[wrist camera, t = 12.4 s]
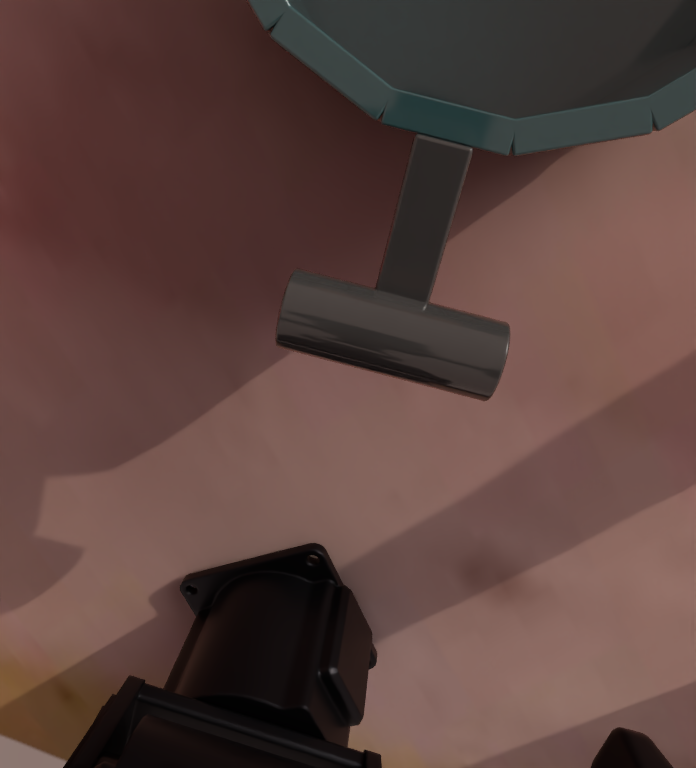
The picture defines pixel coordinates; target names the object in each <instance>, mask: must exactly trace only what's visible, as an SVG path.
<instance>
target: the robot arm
mask: <svg viewBox="0 0 696 768" xmlns="http://www.w3.org/2000/svg"><path fill="white" fill-rule="evenodd" d="M309 555H315V556H317V557H318V558H315V559H314V558H312V557H310V556H309ZM191 585H193V586H195V587H196V588H194V587H192V586H191ZM180 590H181V593H182V595H183V596H184V598H185V599H186V601H187V603H188V604H189V606H190V607H191V609H192V611H193V612H194V614H195V615H196V618H195V621H194V623H193V625H192V627H191V629H190V632H189V634H188V636H187V638H186V640H185V642H184V645H183V647H182V649H181V651H180V653H179V656H178V658H177V660H176V662H175V664H174V666H173V669H172V671H171V673H170V675H169V677H168V680H167V682H166V684H165V686H164V688H163V689H162V688H159V687H156V686H152V685H149V684H146V683H145V680H144V679H140V678H137V677H134V676H131V675H129V677H128V678H127V680H126V681H125V683H124V684H123V686H122V687H121V689H120V690H119V692H118V693H117V695H115V694H112V696H111V697H110V698H109V700H108V701H107V703H106V704H105V705H104V706H102V708H101V710H100V711H99V713H98V715H97V717H96V719H95V721H94V722H93V724H92V725H91V727H90V728H89V730H88V731H87V733H86V734H85V736H84V737H83V739H82V740H81V742H80V743H79V745H78V746H77V748H76V749H75V751H74V752H73V754H72V755H71V757H70V758H69V760H68V761H67V763H66V764H65V766H64V767H63V768H382V765H381V755H380V754H377V753H374V752H371V751H368V750H364V752H361V751H357V750H354V749H351V748H348V739H349V732H350V726H355V725H359V724H360V722H361V720H362V719H363V716H364V707H365V698H366V688H367V679H368V670H369V669H371V668H373V667H374V666H375V665H376V662H377V651H376V649H375V647H374V645H373V643H372V631H371V629H370V627H369V625H368V623H367V621H366V619H365V617H364V615H363V613H362V611H361V609H360V607H359V605H358V603H357V601H356V599H355V597H354V595H353V593H352V591H351V590H350V589H349V588H348V587H347V586H344V585H343V583H342V581H341V579H340V577H339V575H338V573H337V571H336V569H335V567H334V565H333V563H332V561H331V559H330V557H329V555H328V553H327V551H326V549H325V548H324V547H323V546H321V545H320V544H316V543H310V544H306V545H302V546H298V547H294V548H290V549H286V550H282V551H278V552H274V553H270V554H267V555H263V556H259V557H255V558H251V559H247V560H243V561H239V562H235V563H231V564H227V565H223V566H219V567H215V568H211V569H207V570H203V571H199V572H196V573H192V574H189V575H186V576H185V578H184V579H183V581H182V583H181V585H180ZM591 768H673V767H672V765H671V764H670V763H669V762H668V760H667V759H666V758H665V757H664V755H663V754H662V753H661V752H660V750H659V749H658V748H657V746H656V745H655V744H654V743H653V741H652V740H651V739H650V738H649V737H648V736H646V735H645V734H643V733H640V732H636V731H633V730H629V729H625V728H620V727H618V728H616V729H614V730H613V731H612V732H611V733H610V735H609V736H608V738H607V740H606V741H605V743H604V744H603V746H602V747H601V749H600V751H599V752H598V754H597V755H596V757H595V759H594V760H593V763H592V766H591Z"/></svg>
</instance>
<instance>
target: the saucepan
mask: <svg viewBox="0 0 696 768" xmlns="http://www.w3.org/2000/svg"><path fill="white" fill-rule="evenodd" d="M246 1H247V3H248V4H249V6H250V8H251V10H252V11H253V13H254V15H255V16H256V18H257V20H258V22H259V23H260V25H261V27H262V28H263V30H264V31H266V32H267V33H269V34H270V38H271V39H272V40H273V41H274V42H276V43H277V44H278V45H280V46H281V47H282V48H283V49H285V50H286V51H287V52H288V53H290V54H291V55H292V56H293V57H295V58H296V59H297V60H298V61H300V62H301V63H302V64H304V65H305V66H306V67H307V68H309V69H310V70H311V71H312V72H314V73H315V74H316V75H317V76H319V77H320V78H321V79H322V80H324V81H325V82H326V83H328V84H329V85H330V86H331V87H333V88H334V89H335V90H336V91H338V92H339V93H340V94H341V95H343V96H344V97H345V98H347V99H348V100H349V101H350V102H352V103H353V104H354V105H355V106H357V107H358V108H359V109H360V110H362V111H363V112H364V113H365V114H367V115H368V116H369V117H371V118H372V119H373V120H375V121H378V122H381V124H382V125H385V126H388V127H392V128H395V129H399V130H403V131H407V132H411V133H415V134H417V135H415V137H414V139H413V143H412V147H411V151H410V155H409V159H408V163H407V166H406V170H405V174H404V178H403V182H402V186H401V190H400V194H399V198H398V202H397V205H396V209H395V213H394V217H393V221H392V225H391V229H390V233H389V237H388V240H387V244H386V248H385V252H384V256H383V260H382V264H381V268H380V272H379V276H378V279H377V283H376V287H375V288H373V287H369V286H365V285H361V284H357V283H353V282H349V281H346V280H342V279H338V278H334V277H330V276H326V275H322V274H319V273H315V272H311V271H307V270H303V269H299V268H297V269H295V270H294V271H293V273H292V274H291V276H290V279H289V281H288V284H287V286H286V289H285V292H284V296H283V299H282V303H281V307H280V311H279V316H278V321H277V327H276V338H275V339H276V346H277V347H278V348H282V349H286V350H290V351H293V352H297V353H301V354H305V355H309V356H313V357H316V358H320V359H324V360H328V361H332V362H336V363H339V364H343V365H347V366H351V367H355V368H359V369H362V370H366V371H370V372H374V373H378V374H382V375H385V376H389V377H393V378H397V379H401V380H404V381H408V382H412V383H416V384H420V385H424V386H427V387H431V388H435V389H439V390H443V391H447V392H450V393H454V394H458V395H462V396H466V397H470V398H473V399H477V400H481V401H487V400H489V399H490V398H491V396H492V395H493V393H494V391H495V390H496V388H497V385H498V383H499V381H500V378H501V375H502V373H503V369H504V366H505V363H506V359H507V355H508V350H509V344H510V326H509V324H508V323H507V322H504V321H500V320H496V319H492V318H489V317H485V316H481V315H477V314H473V313H469V312H465V311H461V310H458V309H454V308H450V307H446V306H442V305H438V304H434V303H431V302H429V300H430V297H431V293H432V290H433V287H434V283H435V280H436V277H437V273H438V270H439V266H440V263H441V260H442V256H443V253H444V249H445V246H446V243H447V239H448V236H449V232H450V229H451V226H452V222H453V219H454V216H455V212H456V209H457V205H458V202H459V199H460V195H461V192H462V188H463V185H464V182H465V178H466V175H467V171H468V168H469V165H470V161H471V158H472V155H473V149H472V148H474V149H478V150H482V151H486V152H490V153H494V154H499V155H503V156H508V155H512V156H521V155H527V154H533V153H539V152H545V151H551V150H557V149H563V148H569V147H575V146H581V145H588V144H594V143H600V142H606V141H612V140H618V139H624V138H630V137H636V136H642V135H648V134H650V133H652V131H660V130H662V129H664V128H665V127H667V126H669V125H671V124H672V123H674V122H676V121H678V120H679V119H681V118H683V117H685V116H686V115H688V114H690V113H691V112H693V111H695V110H696V0H246Z"/></svg>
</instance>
